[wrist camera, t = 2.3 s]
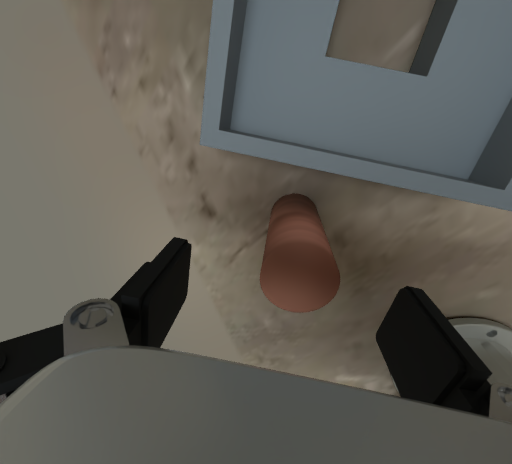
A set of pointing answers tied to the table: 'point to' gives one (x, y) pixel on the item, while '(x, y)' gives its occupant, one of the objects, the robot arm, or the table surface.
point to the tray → (367, 98)
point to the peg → (298, 257)
